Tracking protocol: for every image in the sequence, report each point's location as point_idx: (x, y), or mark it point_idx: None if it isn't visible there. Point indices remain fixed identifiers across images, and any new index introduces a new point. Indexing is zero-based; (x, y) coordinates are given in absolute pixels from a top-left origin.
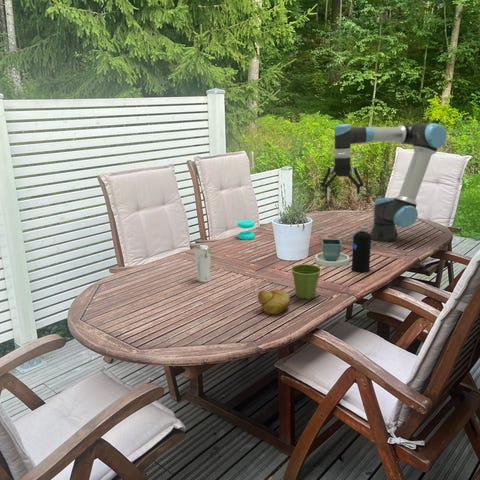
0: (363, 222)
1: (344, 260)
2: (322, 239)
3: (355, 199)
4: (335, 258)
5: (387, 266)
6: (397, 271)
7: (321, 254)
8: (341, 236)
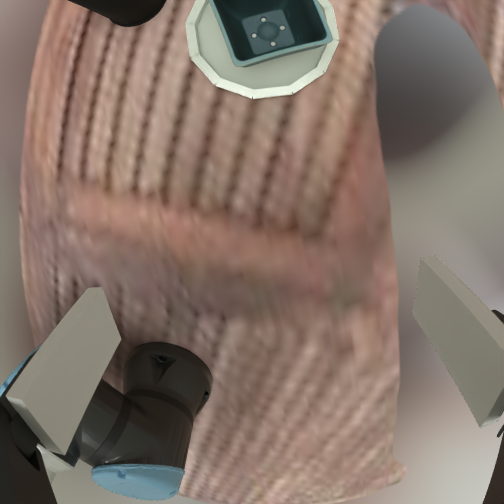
0: (270, 469)
1: (198, 6)
2: (329, 34)
3: (92, 296)
4: (240, 9)
5: (64, 78)
6: (36, 52)
7: (320, 57)
8: (306, 362)
